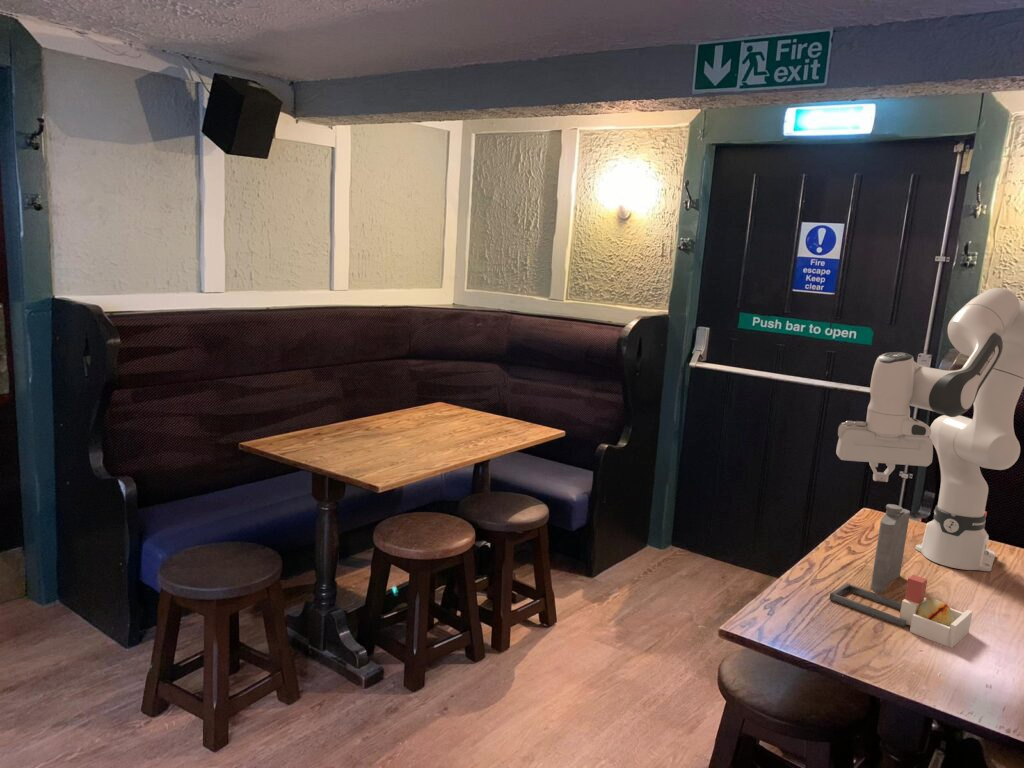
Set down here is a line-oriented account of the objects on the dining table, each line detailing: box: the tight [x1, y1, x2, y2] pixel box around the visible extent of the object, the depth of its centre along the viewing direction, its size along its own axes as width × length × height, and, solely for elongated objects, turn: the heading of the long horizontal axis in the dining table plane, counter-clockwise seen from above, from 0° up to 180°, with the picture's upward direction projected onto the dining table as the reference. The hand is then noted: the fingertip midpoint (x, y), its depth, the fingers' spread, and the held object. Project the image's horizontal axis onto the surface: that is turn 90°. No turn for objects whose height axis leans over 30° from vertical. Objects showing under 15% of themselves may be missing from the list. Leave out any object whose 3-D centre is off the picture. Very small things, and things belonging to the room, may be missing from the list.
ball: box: [917, 599, 954, 627], centre depth 171 cm, size 7×7×7 cm
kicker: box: [899, 574, 928, 627], centre depth 174 cm, size 6×3×10 cm, turn 133°
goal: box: [909, 607, 973, 649], centre depth 170 cm, size 11×8×5 cm
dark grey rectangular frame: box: [829, 583, 907, 629], centre depth 181 cm, size 9×17×2 cm, turn 43°
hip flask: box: [869, 503, 911, 594], centre depth 194 cm, size 16×4×20 cm, turn 138°
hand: (880, 480), depth 181 cm, fingers closed
